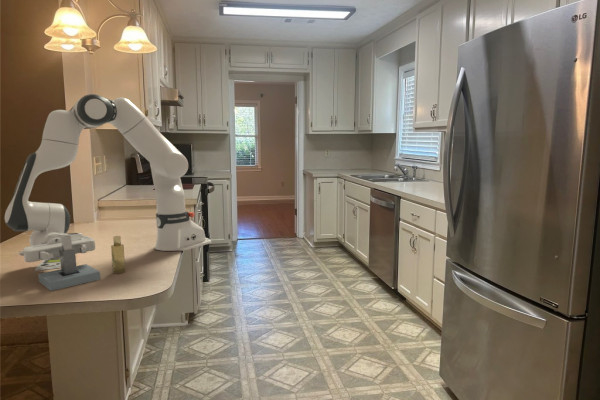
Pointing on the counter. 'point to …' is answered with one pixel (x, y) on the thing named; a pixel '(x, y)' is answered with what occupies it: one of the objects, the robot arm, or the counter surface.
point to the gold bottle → (118, 256)
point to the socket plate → (68, 277)
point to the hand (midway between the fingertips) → (67, 253)
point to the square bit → (67, 257)
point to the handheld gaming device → (48, 265)
